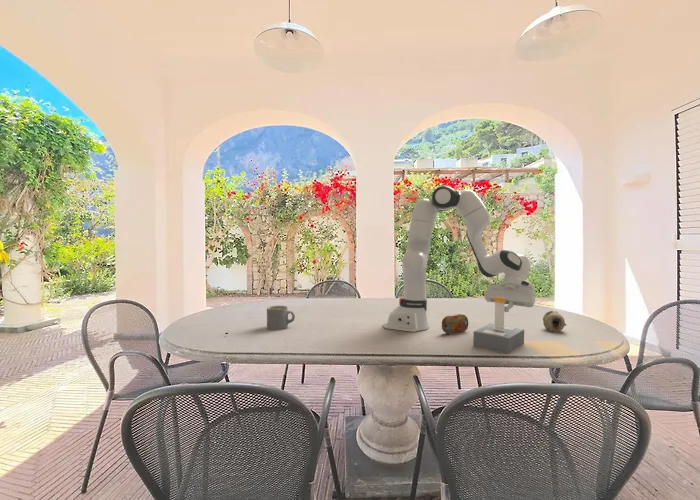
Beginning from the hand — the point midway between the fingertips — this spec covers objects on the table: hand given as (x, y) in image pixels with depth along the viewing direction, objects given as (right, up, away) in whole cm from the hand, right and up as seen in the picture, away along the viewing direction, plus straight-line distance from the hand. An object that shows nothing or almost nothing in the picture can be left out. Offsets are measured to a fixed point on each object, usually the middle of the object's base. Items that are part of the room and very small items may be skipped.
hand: (504, 310), depth 145 cm
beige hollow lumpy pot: (+33, -13, +18) cm, 40 cm away
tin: (-17, -13, +14) cm, 26 cm away
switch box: (-4, -13, -3) cm, 14 cm away
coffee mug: (-100, -12, +22) cm, 104 cm away
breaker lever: (-4, -7, -4) cm, 8 cm away
